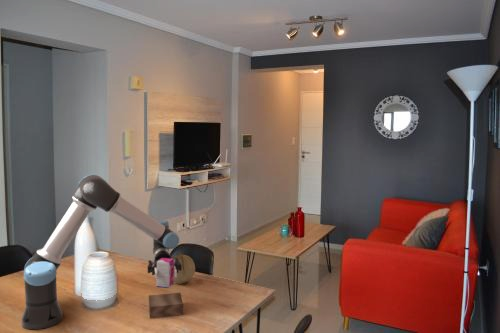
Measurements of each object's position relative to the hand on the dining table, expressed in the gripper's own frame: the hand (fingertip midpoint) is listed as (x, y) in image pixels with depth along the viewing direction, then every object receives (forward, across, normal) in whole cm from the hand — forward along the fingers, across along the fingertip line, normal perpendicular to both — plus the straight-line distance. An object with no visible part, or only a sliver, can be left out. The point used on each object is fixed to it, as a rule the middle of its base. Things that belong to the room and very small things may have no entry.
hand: (166, 275), depth 178 cm
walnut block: (-5, 0, -18) cm, 19 cm away
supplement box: (-5, 0, -7) cm, 8 cm away
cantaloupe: (-35, -10, -18) cm, 41 cm away
